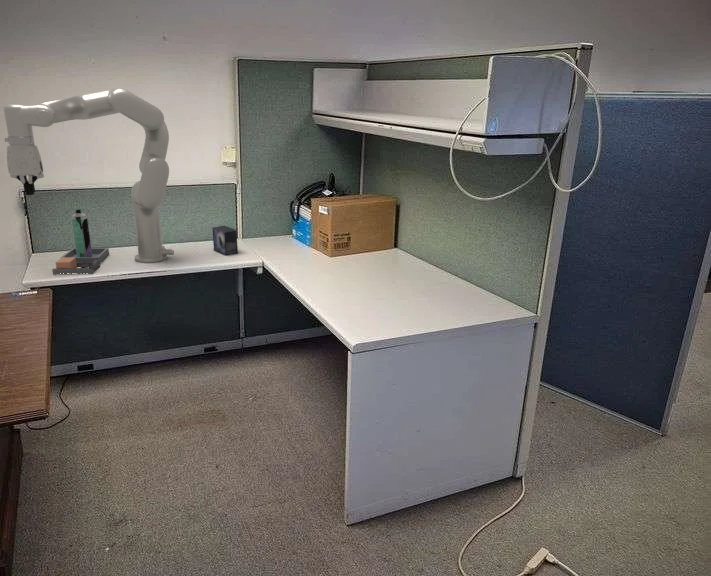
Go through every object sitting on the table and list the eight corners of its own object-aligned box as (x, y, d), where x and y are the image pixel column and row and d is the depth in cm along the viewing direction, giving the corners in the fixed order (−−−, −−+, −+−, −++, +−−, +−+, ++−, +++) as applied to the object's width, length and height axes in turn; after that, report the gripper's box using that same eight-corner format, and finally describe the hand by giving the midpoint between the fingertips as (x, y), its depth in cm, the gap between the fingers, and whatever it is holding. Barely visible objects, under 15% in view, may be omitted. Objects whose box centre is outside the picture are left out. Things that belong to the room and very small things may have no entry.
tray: (109, 254, 229) (108, 248, 228) (99, 264, 216) (98, 257, 215) (73, 255, 227) (72, 248, 226) (61, 265, 214) (60, 257, 213)
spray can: (94, 259, 221) (87, 209, 215) (79, 261, 218) (72, 211, 211) (90, 255, 225) (83, 207, 219) (75, 258, 222) (68, 208, 215)
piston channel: (100, 266, 214) (99, 259, 213) (93, 274, 206) (92, 266, 205) (61, 267, 212) (60, 259, 211) (53, 274, 204) (51, 266, 203)
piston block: (77, 267, 212) (75, 257, 210) (71, 272, 206) (69, 262, 204) (63, 267, 211) (61, 257, 210) (57, 272, 205) (55, 262, 204)
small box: (212, 250, 240) (211, 227, 237) (225, 248, 244) (224, 225, 241) (225, 256, 233) (223, 231, 229) (238, 253, 237) (237, 229, 234)
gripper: (-7, 142, 187) (3, 196, 193) (40, 143, 189) (48, 196, 195) (3, 140, 194) (12, 192, 200) (48, 141, 196) (56, 192, 202)
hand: (30, 194), depth 198 cm, fingers closed
